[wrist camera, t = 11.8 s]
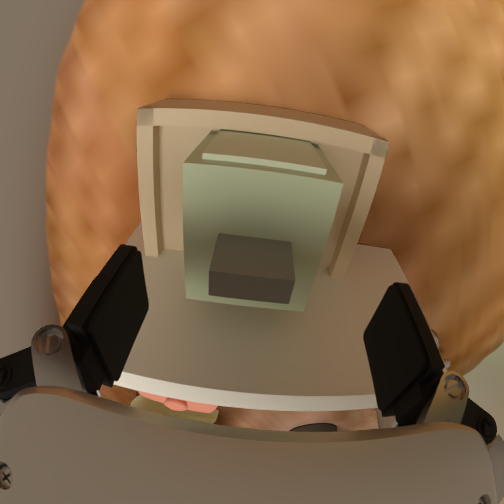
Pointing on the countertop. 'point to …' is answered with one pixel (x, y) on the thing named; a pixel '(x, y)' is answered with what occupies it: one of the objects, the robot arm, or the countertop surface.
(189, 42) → the countertop surface
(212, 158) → the cabinet box
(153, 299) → the beige slab with panel
